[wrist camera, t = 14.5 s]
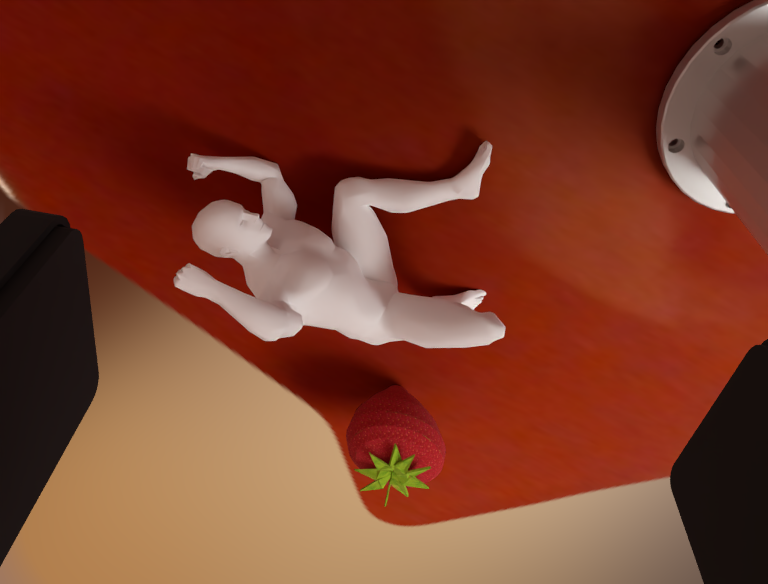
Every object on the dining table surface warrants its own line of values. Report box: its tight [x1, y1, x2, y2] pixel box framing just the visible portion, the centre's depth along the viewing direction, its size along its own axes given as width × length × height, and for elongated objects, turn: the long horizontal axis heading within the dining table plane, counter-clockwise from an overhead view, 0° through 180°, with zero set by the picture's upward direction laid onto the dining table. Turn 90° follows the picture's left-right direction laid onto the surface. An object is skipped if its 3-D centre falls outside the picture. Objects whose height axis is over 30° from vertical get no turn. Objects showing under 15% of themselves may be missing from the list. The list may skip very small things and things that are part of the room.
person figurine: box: [174, 141, 505, 348], centre depth 39 cm, size 13×13×18 cm
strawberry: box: [346, 385, 446, 506], centre depth 47 cm, size 6×8×10 cm
